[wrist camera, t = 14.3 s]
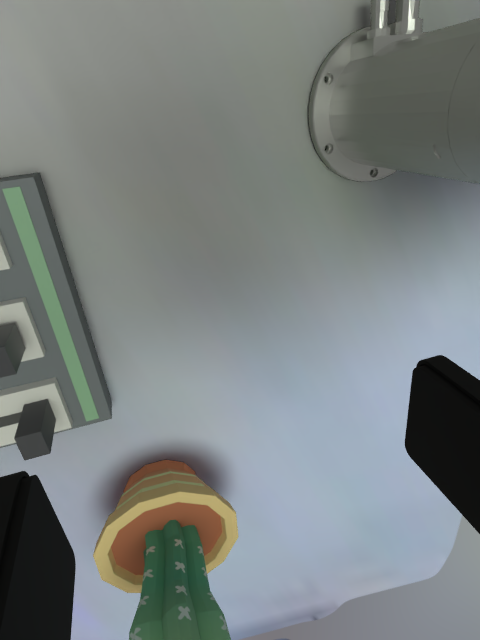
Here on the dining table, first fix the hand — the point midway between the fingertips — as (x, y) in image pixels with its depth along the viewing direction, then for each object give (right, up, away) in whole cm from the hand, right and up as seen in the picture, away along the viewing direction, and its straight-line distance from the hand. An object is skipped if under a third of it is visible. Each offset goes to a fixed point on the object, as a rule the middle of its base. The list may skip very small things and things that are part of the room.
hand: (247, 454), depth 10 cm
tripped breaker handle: (-19, +2, +23) cm, 30 cm away
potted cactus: (-10, -17, +41) cm, 45 cm away
